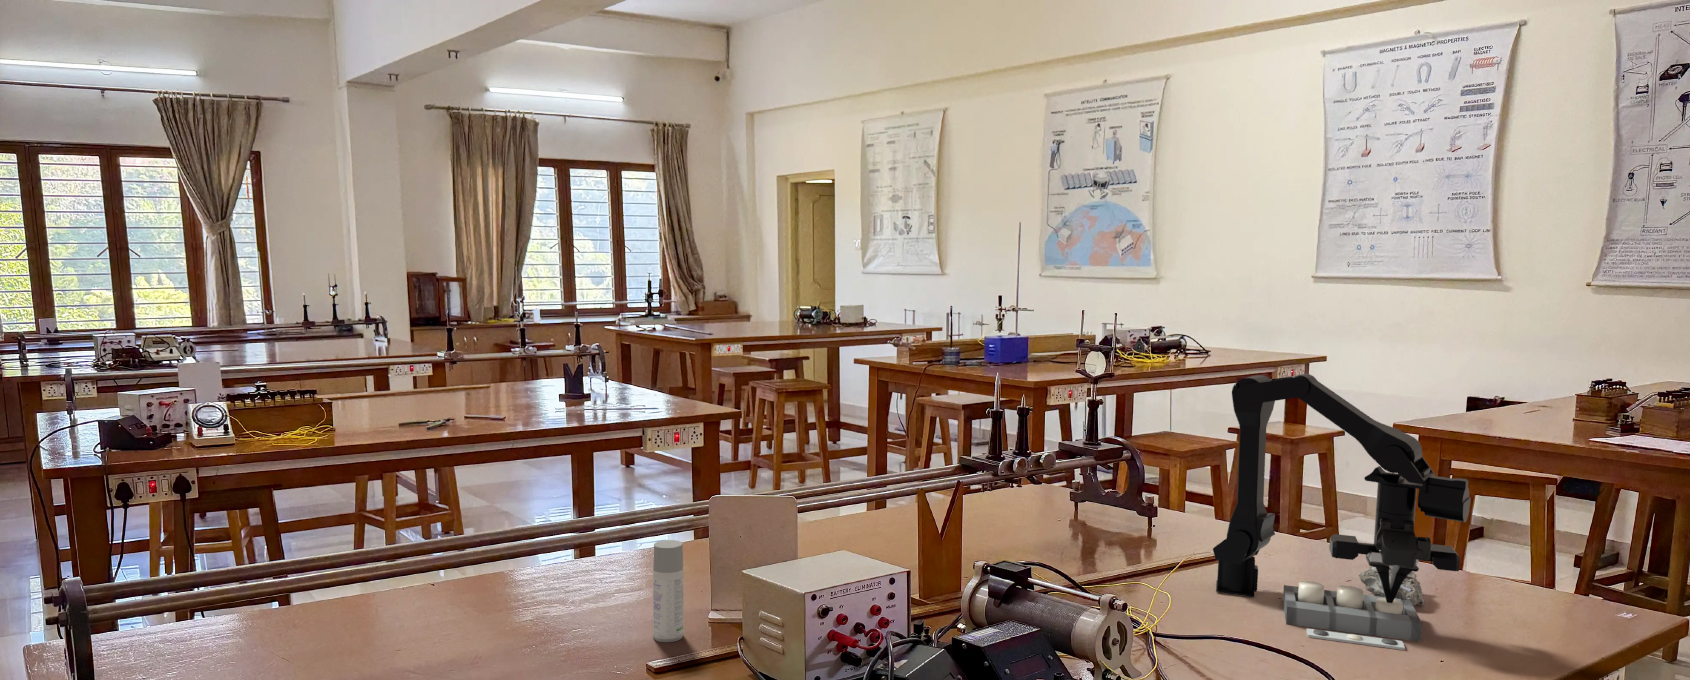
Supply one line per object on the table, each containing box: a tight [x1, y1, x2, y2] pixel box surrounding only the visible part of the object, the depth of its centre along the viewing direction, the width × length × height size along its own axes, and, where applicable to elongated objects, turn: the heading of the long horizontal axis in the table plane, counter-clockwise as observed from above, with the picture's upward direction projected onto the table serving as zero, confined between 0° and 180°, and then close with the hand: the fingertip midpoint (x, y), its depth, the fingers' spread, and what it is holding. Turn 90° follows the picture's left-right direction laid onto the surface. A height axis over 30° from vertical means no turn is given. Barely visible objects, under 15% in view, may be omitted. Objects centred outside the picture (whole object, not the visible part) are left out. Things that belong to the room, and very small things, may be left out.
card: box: [1306, 628, 1406, 651], centre depth 166 cm, size 14×3×1 cm, turn 70°
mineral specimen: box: [1358, 566, 1425, 607], centre depth 187 cm, size 6×11×12 cm
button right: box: [1375, 598, 1403, 614], centre depth 173 cm, size 4×4×4 cm
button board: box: [1282, 584, 1423, 643], centre depth 175 cm, size 20×12×3 cm, turn 70°
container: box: [652, 539, 684, 643], centre depth 162 cm, size 5×5×15 cm
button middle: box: [1336, 585, 1364, 609], centre depth 175 cm, size 4×4×4 cm
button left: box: [1298, 580, 1325, 605], centre depth 177 cm, size 4×4×4 cm
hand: (1389, 602), depth 173 cm, fingers closed, pressing on button right
